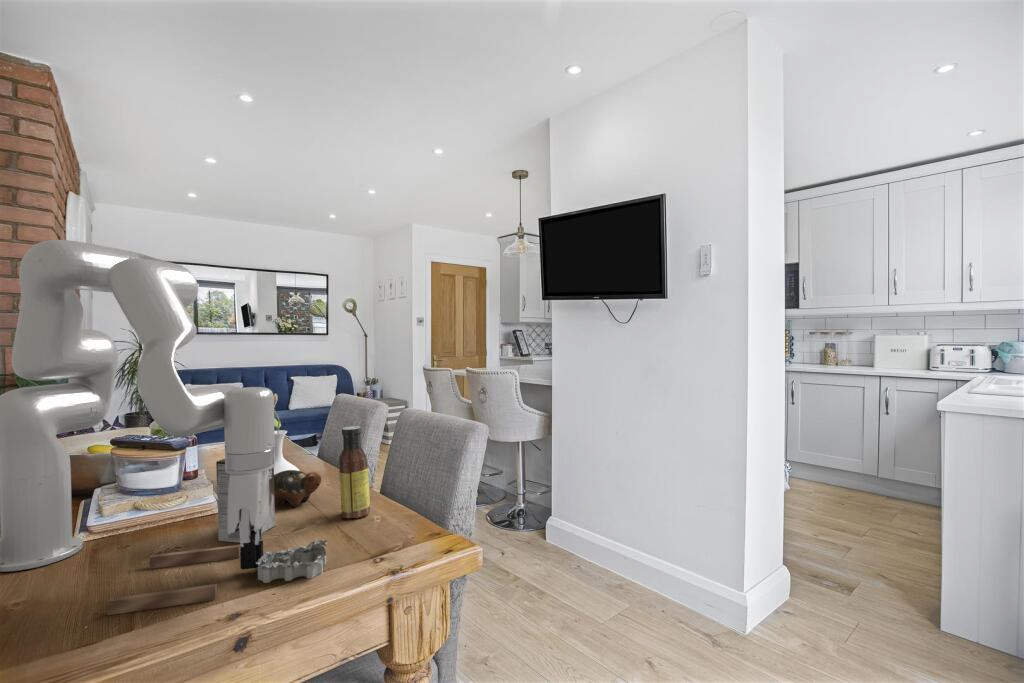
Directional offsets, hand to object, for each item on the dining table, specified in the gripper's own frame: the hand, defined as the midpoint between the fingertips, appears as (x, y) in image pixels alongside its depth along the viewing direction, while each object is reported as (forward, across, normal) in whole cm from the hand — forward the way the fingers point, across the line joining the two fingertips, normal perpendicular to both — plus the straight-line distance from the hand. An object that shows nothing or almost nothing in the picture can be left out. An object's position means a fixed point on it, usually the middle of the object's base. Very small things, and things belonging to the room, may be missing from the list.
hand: (252, 566), depth 85 cm
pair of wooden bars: (+1, 0, -11) cm, 11 cm away
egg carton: (+2, +2, +7) cm, 7 cm away
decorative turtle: (+1, -36, +1) cm, 36 cm away
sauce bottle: (+1, -23, +16) cm, 28 cm away
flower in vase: (+1, -56, -5) cm, 56 cm away
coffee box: (+1, -19, -5) cm, 20 cm away
